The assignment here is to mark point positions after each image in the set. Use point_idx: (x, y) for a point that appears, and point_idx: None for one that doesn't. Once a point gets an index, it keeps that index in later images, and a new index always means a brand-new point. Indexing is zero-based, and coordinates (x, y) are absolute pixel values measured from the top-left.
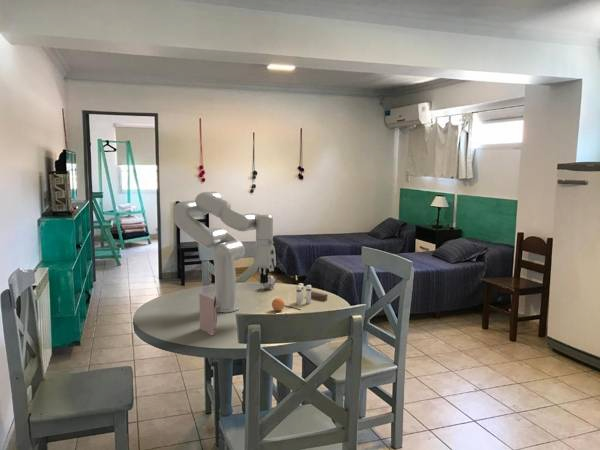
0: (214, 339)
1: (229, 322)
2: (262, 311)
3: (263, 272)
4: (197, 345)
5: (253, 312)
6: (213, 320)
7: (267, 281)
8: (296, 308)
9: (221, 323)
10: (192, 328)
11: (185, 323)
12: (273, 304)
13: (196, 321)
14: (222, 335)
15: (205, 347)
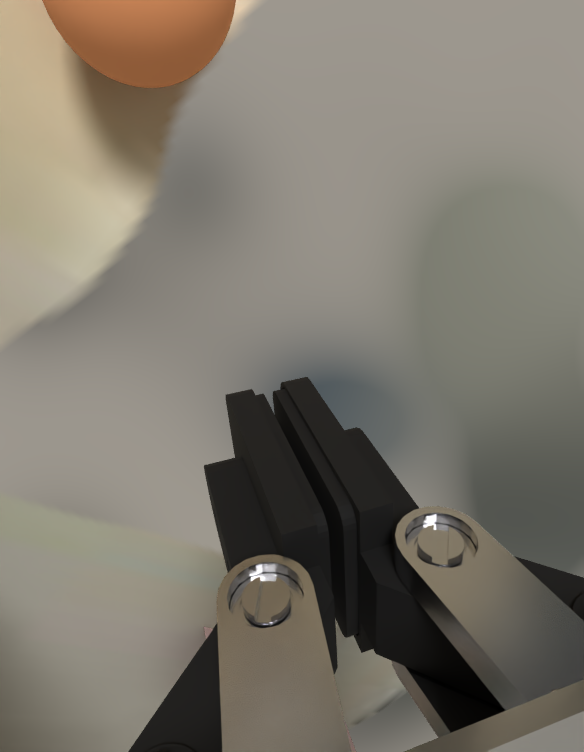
0: (355, 661)
1: (173, 548)
2: (49, 179)
3: (419, 694)
4: (359, 715)
5: (29, 282)
6: (353, 745)
7: (310, 396)
8: None
9: (158, 590)
10: (139, 718)
11: (20, 741)
12: (149, 86)
13: (16, 695)
14: (339, 627)
15: (398, 696)
